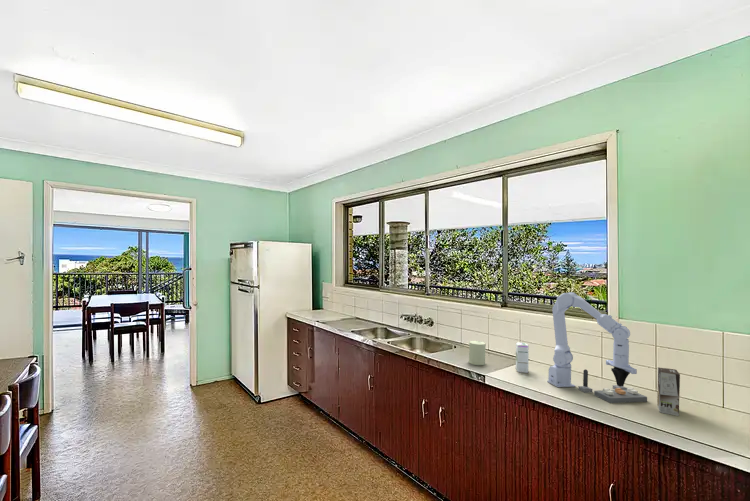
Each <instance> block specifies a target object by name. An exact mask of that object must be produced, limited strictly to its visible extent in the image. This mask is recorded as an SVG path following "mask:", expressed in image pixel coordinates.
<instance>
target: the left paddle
mask: <svg viewBox="0 0 750 501" xmlns="http://www.w3.org/2000/svg"><path fill="white" fill-rule="evenodd" d="M602 390H603V392H604V393H606V394H608V395H614V392H613V391H611V390H612V389H610V388H607V387H606V388H602Z"/></svg>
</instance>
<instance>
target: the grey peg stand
mask: <svg viewBox="0 0 750 501" xmlns="http://www.w3.org/2000/svg"><path fill="white" fill-rule="evenodd" d="M582 375H583V376H582V377H583V378H582V381H583V382H582V385H579V386H577V387H578V388H577V389H578V390H579V391H580V392H583V393H593V388H591V387H589V384H588V383H589V371H588V370H587V369H584V370H583V374H582Z"/></svg>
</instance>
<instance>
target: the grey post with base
mask: <svg viewBox="0 0 750 501" xmlns="http://www.w3.org/2000/svg"><path fill="white" fill-rule="evenodd" d="M615 388H621V389H622V390H627V388H628V387H626V386H618V385H617V384H613V385H612V390H615Z"/></svg>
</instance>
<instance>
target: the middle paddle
mask: <svg viewBox="0 0 750 501" xmlns="http://www.w3.org/2000/svg"><path fill="white" fill-rule="evenodd" d="M614 390H615V392H617V393H619V394H626V391H623V390H622V389H621V388H615V389H614Z"/></svg>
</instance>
